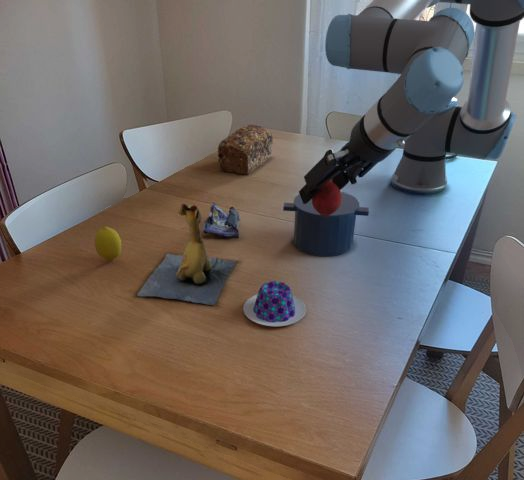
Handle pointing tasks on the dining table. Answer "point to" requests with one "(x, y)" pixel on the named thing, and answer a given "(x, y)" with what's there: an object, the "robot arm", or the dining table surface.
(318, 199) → the onion
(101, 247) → the lemon
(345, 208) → the pot lid
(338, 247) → the pot
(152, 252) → the dining table surface
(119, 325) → the dining table surface
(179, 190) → the dining table surface
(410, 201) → the dining table surface
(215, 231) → the snack package
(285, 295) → the pudding
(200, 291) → the stuffed giraffe
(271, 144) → the bread
